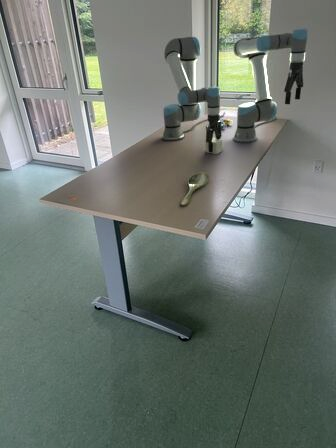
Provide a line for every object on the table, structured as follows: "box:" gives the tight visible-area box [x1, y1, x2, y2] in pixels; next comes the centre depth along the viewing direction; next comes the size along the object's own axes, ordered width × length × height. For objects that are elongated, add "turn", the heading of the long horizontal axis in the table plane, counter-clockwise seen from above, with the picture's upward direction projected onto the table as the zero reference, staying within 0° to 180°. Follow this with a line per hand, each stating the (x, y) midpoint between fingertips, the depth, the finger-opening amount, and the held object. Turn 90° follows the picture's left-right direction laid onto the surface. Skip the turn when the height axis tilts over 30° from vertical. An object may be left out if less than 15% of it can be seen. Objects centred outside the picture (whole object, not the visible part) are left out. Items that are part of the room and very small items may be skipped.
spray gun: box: [219, 117, 234, 130], centre depth 264 cm, size 21×4×15 cm
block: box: [205, 137, 223, 155], centre depth 215 cm, size 7×8×7 cm
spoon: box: [180, 171, 210, 207], centre depth 170 cm, size 35×11×2 cm, turn 159°
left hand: (213, 150), depth 216 cm, fingers closed on block, 6 cm apart
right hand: (292, 101), depth 195 cm, fingers open, 13 cm apart
